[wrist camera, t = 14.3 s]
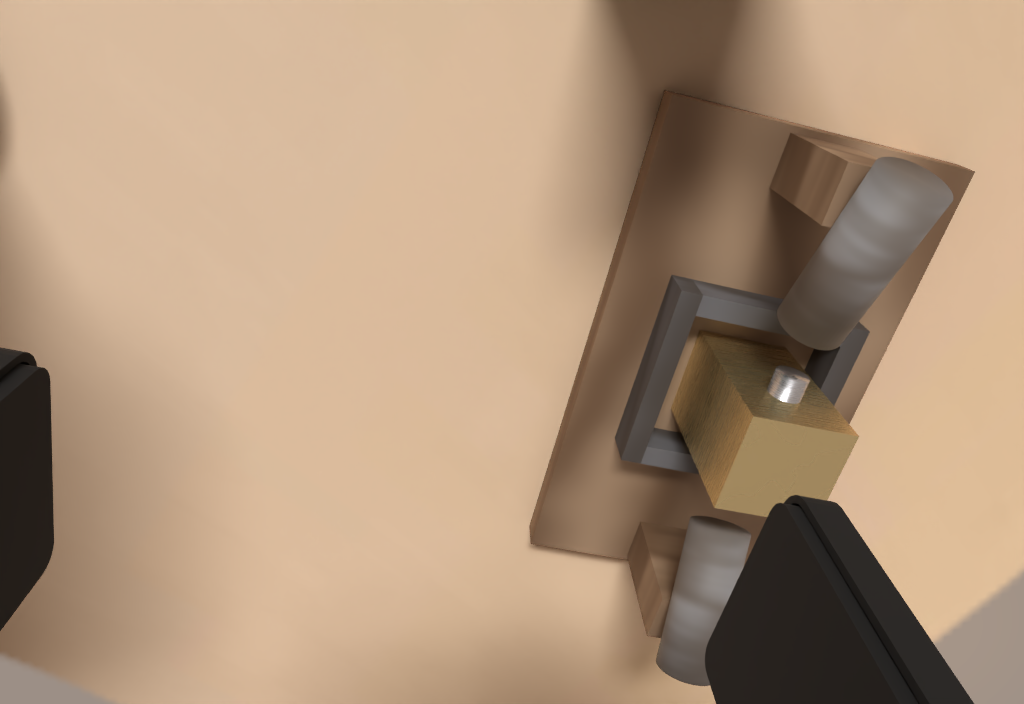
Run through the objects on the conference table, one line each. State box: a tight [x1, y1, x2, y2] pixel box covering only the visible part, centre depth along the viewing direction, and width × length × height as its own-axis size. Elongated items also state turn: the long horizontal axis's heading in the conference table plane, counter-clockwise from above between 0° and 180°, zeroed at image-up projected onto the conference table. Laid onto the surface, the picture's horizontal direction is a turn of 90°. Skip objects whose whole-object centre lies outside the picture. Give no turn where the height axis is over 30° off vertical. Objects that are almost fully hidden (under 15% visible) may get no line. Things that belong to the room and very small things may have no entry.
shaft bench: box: [530, 90, 975, 686], centre depth 34 cm, size 14×24×10 cm, turn 167°
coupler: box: [671, 330, 859, 517], centre depth 34 cm, size 6×4×8 cm
